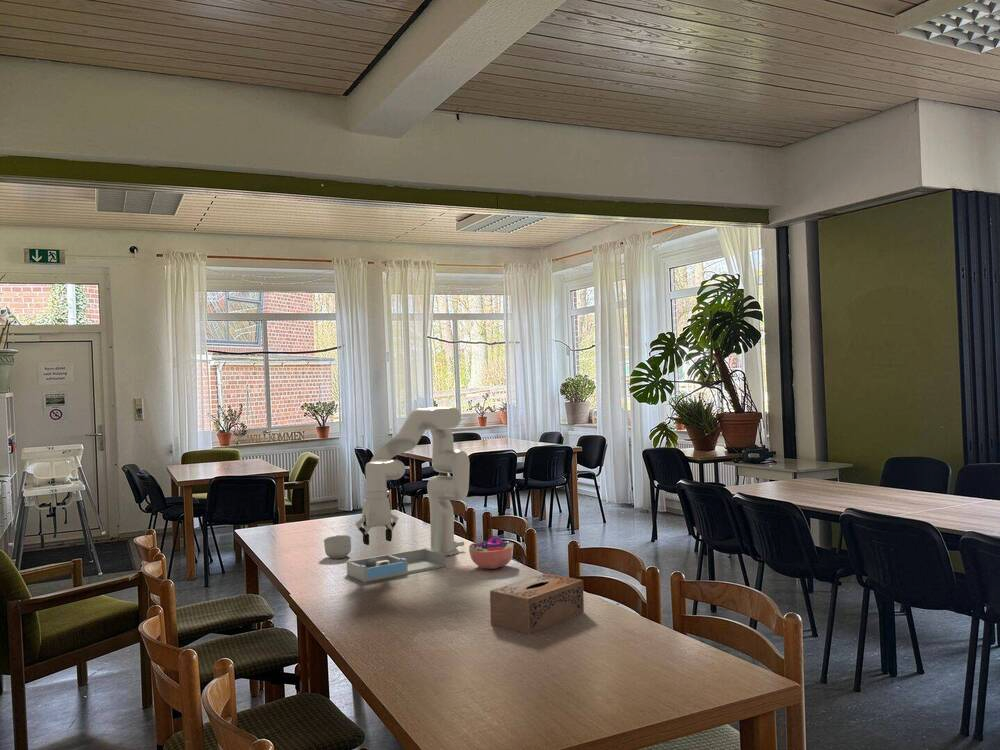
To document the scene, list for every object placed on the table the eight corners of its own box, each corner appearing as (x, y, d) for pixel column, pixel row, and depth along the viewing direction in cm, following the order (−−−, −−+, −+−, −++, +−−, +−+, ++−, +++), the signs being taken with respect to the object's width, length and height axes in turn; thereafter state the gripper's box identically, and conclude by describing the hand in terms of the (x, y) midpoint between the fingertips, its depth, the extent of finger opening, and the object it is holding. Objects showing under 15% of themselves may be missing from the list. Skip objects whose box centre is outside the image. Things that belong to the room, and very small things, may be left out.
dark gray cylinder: (366, 570, 296) (366, 558, 296) (377, 568, 298) (377, 556, 298) (379, 575, 288) (378, 562, 288) (390, 573, 290) (389, 560, 290)
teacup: (348, 560, 318) (347, 539, 318) (321, 560, 318) (320, 540, 318) (355, 552, 332) (354, 533, 332) (329, 552, 332) (328, 533, 332)
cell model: (458, 571, 295) (458, 540, 295) (484, 560, 313) (484, 531, 313) (499, 575, 288) (498, 544, 288) (523, 563, 305) (523, 534, 305)
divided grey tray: (426, 560, 314) (426, 547, 314) (445, 566, 303) (445, 552, 303) (347, 574, 294) (346, 560, 294) (364, 582, 283) (364, 567, 283)
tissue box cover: (546, 605, 250) (545, 573, 250) (583, 613, 240) (583, 580, 240) (490, 625, 231) (490, 590, 231) (529, 635, 221) (528, 598, 221)
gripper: (392, 491, 301) (393, 537, 301) (350, 497, 291) (351, 544, 291) (402, 493, 295) (403, 540, 295) (359, 499, 285) (360, 547, 285)
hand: (377, 542), depth 293 cm, fingers open, 8 cm apart
